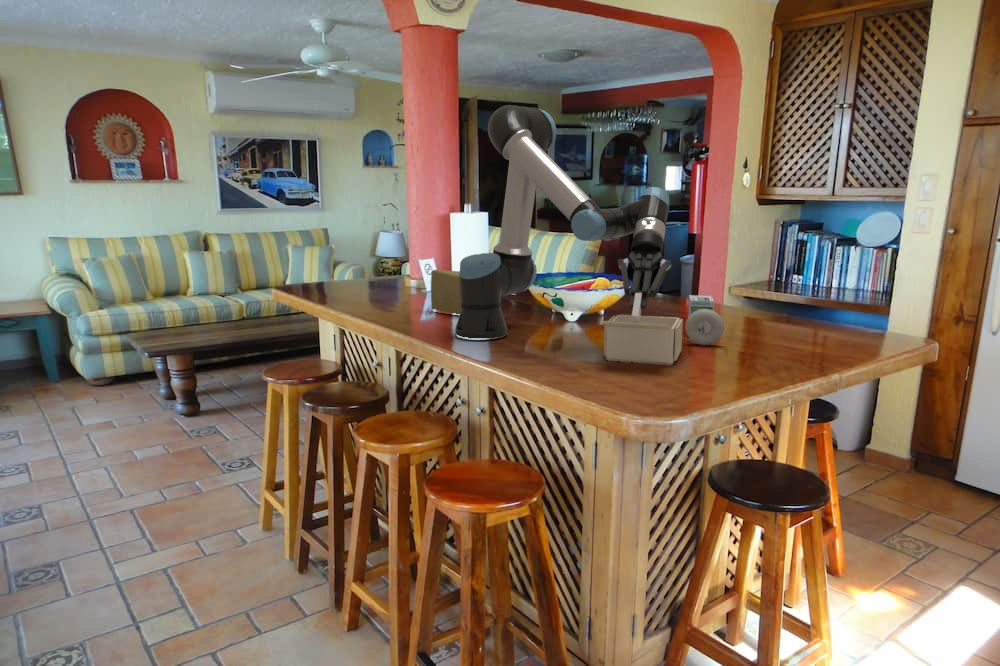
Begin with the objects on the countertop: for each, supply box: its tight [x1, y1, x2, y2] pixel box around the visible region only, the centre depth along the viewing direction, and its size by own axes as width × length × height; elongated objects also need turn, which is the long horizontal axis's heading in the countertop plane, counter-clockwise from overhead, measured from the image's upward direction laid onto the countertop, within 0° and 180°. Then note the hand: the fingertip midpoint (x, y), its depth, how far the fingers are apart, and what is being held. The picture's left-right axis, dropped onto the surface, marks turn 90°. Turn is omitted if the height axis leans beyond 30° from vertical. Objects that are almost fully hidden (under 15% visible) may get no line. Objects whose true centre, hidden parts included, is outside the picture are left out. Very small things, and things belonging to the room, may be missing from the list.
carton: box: [603, 314, 684, 366], centre depth 174 cm, size 18×15×9 cm
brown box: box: [430, 269, 461, 314], centre depth 233 cm, size 22×10×15 cm, turn 55°
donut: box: [685, 309, 725, 347], centre depth 184 cm, size 10×4×10 cm, turn 71°
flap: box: [601, 320, 671, 330], centre depth 162 cm, size 15×1×8 cm
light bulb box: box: [687, 294, 716, 333], centre depth 198 cm, size 11×7×11 cm, turn 168°
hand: (635, 319), depth 158 cm, fingers closed
